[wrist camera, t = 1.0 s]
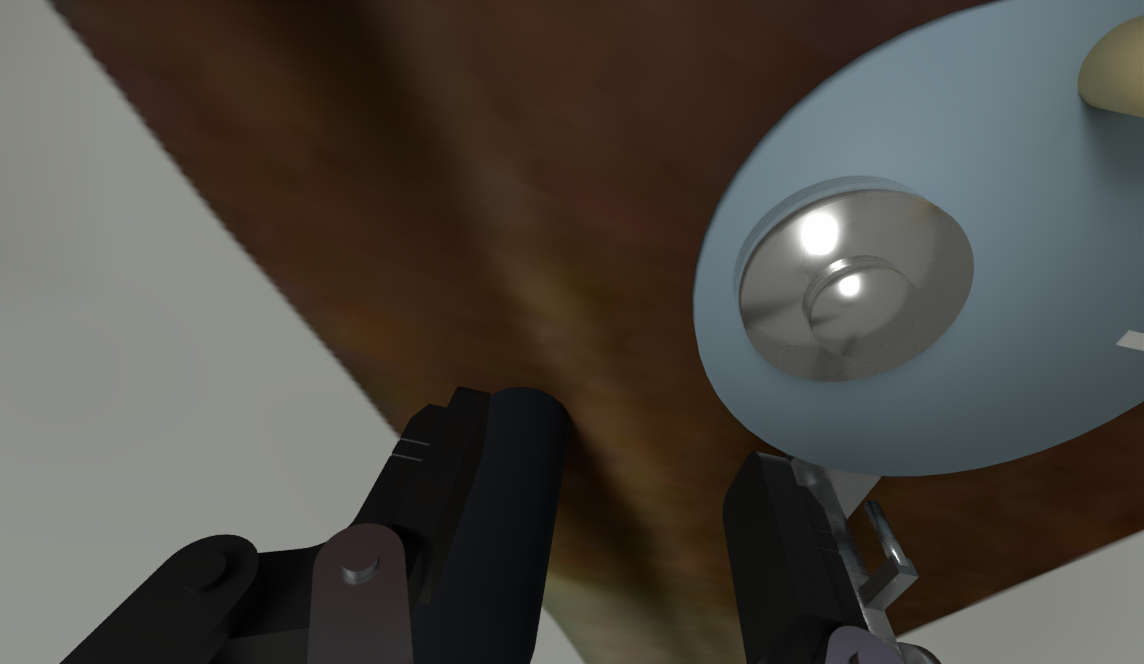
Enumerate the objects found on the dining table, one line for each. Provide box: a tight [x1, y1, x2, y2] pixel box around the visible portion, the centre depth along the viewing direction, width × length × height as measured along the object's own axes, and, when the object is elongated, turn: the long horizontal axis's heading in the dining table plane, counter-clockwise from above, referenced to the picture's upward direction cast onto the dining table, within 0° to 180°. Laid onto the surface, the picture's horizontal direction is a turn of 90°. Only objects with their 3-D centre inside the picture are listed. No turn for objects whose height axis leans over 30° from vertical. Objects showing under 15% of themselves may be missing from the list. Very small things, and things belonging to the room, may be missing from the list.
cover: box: [733, 176, 974, 382], centre depth 22 cm, size 9×9×4 cm
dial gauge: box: [783, 453, 941, 664], centre depth 29 cm, size 8×6×15 cm
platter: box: [692, 0, 1144, 476], centre depth 22 cm, size 24×24×6 cm
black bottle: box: [410, 387, 571, 664], centre depth 23 cm, size 6×6×30 cm
